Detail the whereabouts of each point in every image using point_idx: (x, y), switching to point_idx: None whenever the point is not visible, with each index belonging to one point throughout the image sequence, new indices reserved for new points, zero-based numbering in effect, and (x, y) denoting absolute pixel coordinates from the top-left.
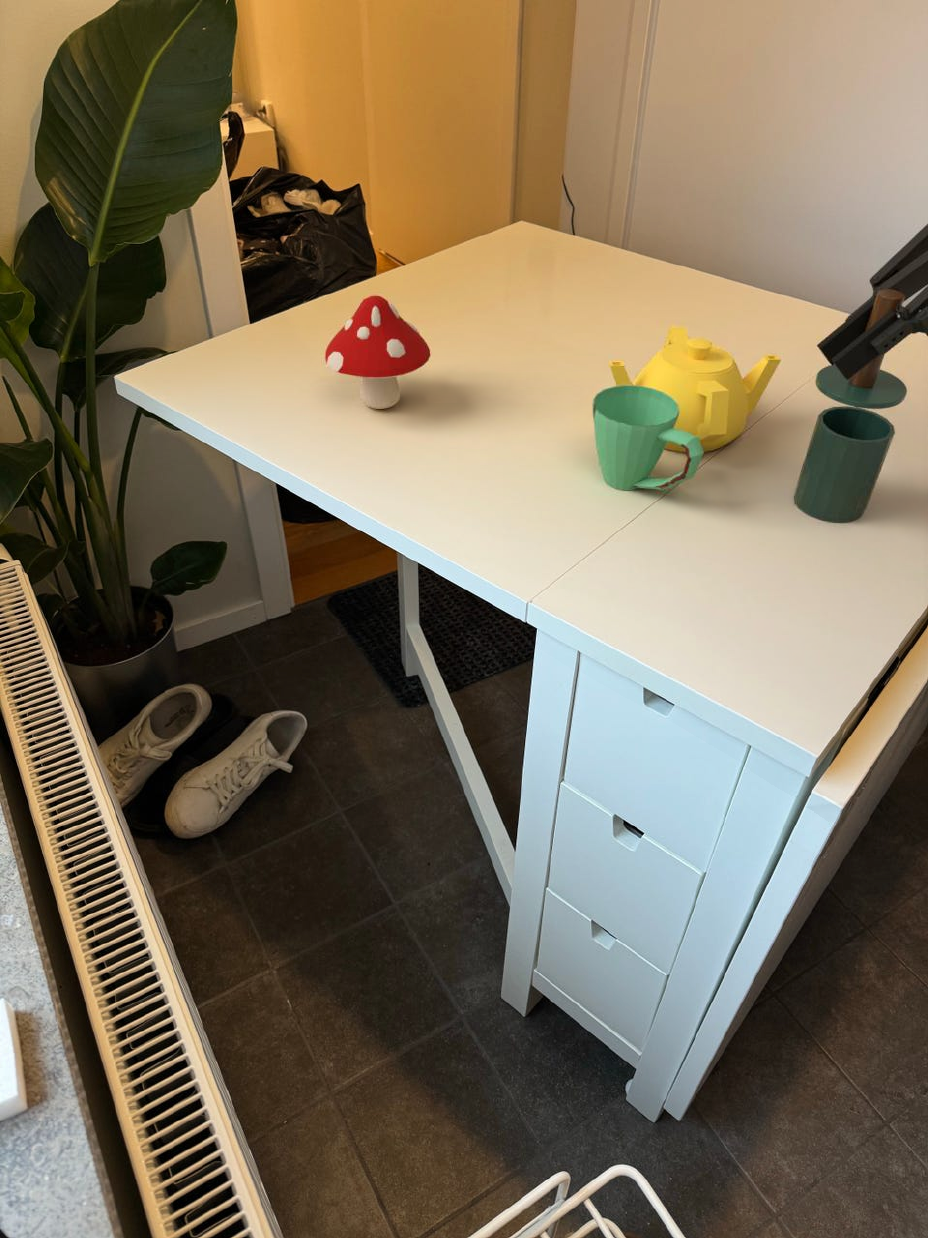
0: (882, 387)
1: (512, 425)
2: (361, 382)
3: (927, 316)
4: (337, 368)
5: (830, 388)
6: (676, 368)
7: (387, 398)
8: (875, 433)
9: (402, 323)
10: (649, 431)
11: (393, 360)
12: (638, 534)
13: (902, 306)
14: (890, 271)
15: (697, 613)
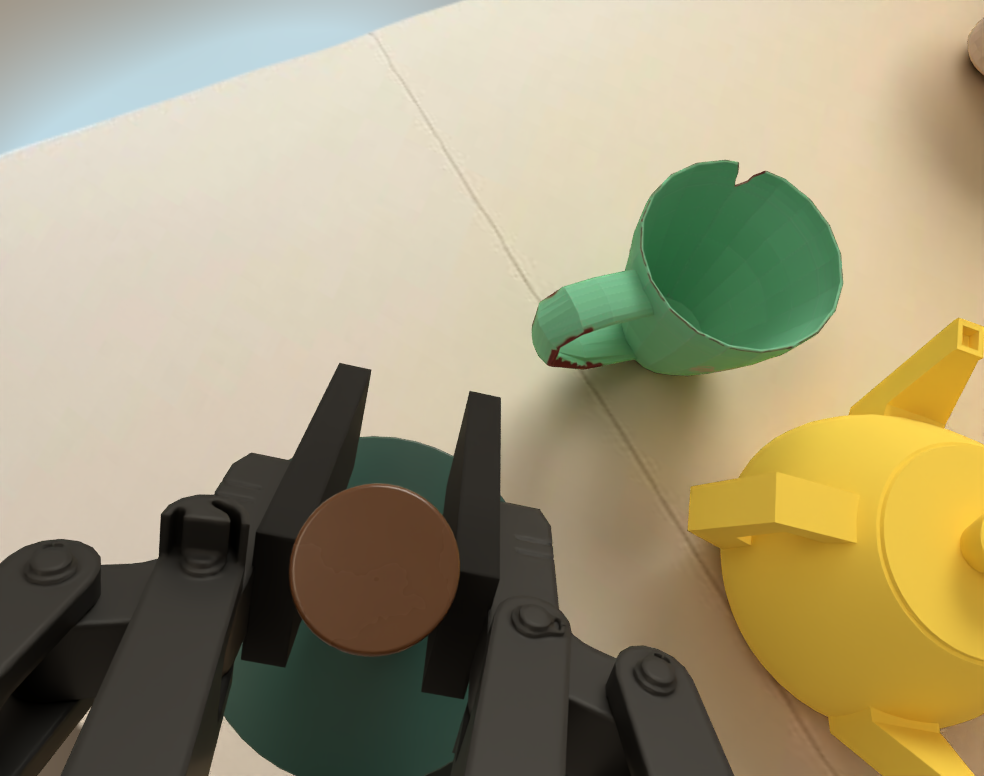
0: (310, 657)
1: (893, 234)
2: None
3: (4, 566)
4: None
5: (377, 456)
6: (918, 454)
7: (981, 40)
8: None
9: None
10: (635, 237)
11: None
12: (480, 267)
13: (207, 520)
14: (638, 759)
15: (228, 239)
